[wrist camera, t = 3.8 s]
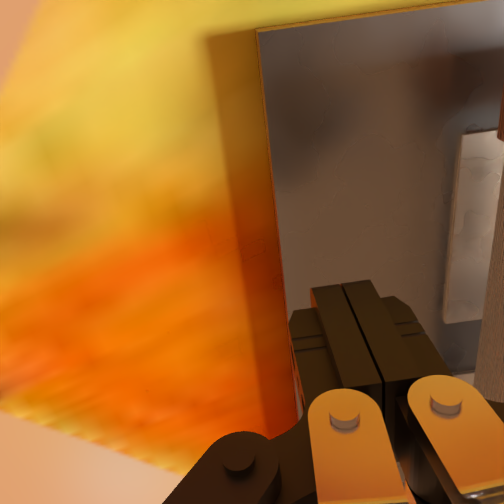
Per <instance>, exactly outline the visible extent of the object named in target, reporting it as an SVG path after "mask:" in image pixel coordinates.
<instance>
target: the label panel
mask: <svg viewBox="0 0 504 504" xmlns="http://www.w3.org/2000/svg"><path fill="white" fill-rule="evenodd" d="M255 35H256V44H257V54H258V63H259V72H260V81H261V91H262V100H263V109H264V118H265V128H266V137H267V146H268V155H269V165H270V174H271V183H272V192H273V202H274V211H275V220H276V229H277V239H278V248H279V257H280V266H281V276H282V285H283V294H284V303H285V313H286V322H287V331H288V340H289V350H290V359H291V368H292V377H293V387H294V396H295V405H296V414H297V423H298V421H299V420H300V419H301V417H302V410H301V405H300V399H299V395H298V391H297V386H296V381H295V376H294V371H293V363H292V354H291V346H290V337H289V328H288V323H289V321H290V318H291V316H292V313H293V311H294V310H299V309H306V308H311V300H310V288H313V287H320V286H327V285H334V284H339V285H340V284H341V283H347V282H354V281H361V280H368V279H369V280H371V282H372V283H373V285H374V287H375V289H376V291H377V293H378V294H379V296H380V298H382V297H389V296H395V297H397V298H398V299H399V300H401V301H402V302H404V303H405V304H407V305H408V306H410V308H411V309H412V311H413V313H414V314H415V316H416V317H417V319H418V322H419V323H420V324H421V325H422V327H423V329H424V330H425V333H426V335H428V337H429V338H430V340H431V341H432V343H433V344H434V346H435V348H436V349H437V351H438V352H439V354H440V356H441V357H442V359H443V360H444V362H445V364H446V365H447V367H448V368H449V370H450V372H451V373H452V375H453V376H454V377H455V378H458V379H461V380H463V381H465V382H467V383H469V384H470V385H472V386H473V383H474V375H475V368H476V361H477V353H478V346H479V339H480V331H481V324H482V317H483V309H484V302H485V295H486V287H487V280H488V273H489V265H490V258H491V251H492V243H493V236H494V229H495V221H496V214H497V207H498V199H499V192H500V185H501V177H502V170H503V163H504V142H503V141H501V140H499V139H498V138H497V132H498V124H499V117H500V109H501V101H502V93H503V85H504V0H458V1H451V2H444V3H437V4H429V5H422V6H415V7H408V8H401V9H393V10H386V11H379V12H372V13H365V14H357V15H350V16H343V17H336V18H328V19H321V20H314V21H307V22H300V23H292V24H285V25H278V26H271V27H263V28H256V29H255ZM396 464H397V467H398V470H399V474H400V477H401V480H402V484H403V487H404V479H405V475H404V473H403V470H402V468H401V465H400V463H399V462H396Z"/></svg>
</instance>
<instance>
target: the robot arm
mask: <svg viewBox="0 0 504 504" xmlns="http://www.w3.org/2000/svg"><path fill="white" fill-rule="evenodd" d="M310 300H311V308H306V309H299V310H294V311H293V313H292V316H291V318H290V321H289V323H288V328H289V337H290V346H291V354H292V363H293V371H294V376H295V381H296V386H297V391H298V395H299V399H300V405H301V410H302V417H301V419H300V420H299V421H298V423H297V424H296V425H295V426H294V427H293V428H291V429H290V430H289V431H287V432H285V433H284V434H282V435H280V436H277V437H275V438H273V439H271V440H268V439H267V438H266V437H264V436H262V435H260V434H257V433H254V432H247V431H241V432H235V433H230V434H228V435H225V436H223V437H222V438H220V439H218V440H217V441H216V442H214V443H213V444H212V445H211V446H210V447H209V448H208V450H207V451H206V452H205V453H204V454H203V456H202V457H201V458H200V459H199V460H198V462H197V463H196V464H195V465H194V466H193V468H192V469H191V470H190V471H189V472H188V473H187V475H186V476H185V477H184V478H183V479H182V481H181V482H180V483H179V484H178V485H177V487H176V488H175V489H174V490H173V491H172V493H171V494H170V495H169V496H168V497H167V499H166V500H165V501H164V502H163V503H162V504H504V403H501V402H495V401H491V400H487V399H484V397H483V396H482V395H481V394H480V393H479V391H478V390H477V389H476V388H474V387H473V386H472V385H470V384H469V383H467V382H465V381H463V380H461V379H458V378H455V377H454V376H453V375H452V373H451V372H450V370H449V368H448V367H447V365H446V364H445V362H444V360H443V359H442V357H441V356H440V354H439V352H438V351H437V349H436V348H435V346H434V344H433V343H432V341H431V340H430V338H429V337H428V335H426V333H425V330H424V329H423V327H422V325H421V324H420V323H419V322H418V319H417V317H416V316H415V314H414V313H413V311H412V309H411V308H410V306H408V305H407V304H405V303H404V302H402V301H401V300H399V299H398V298H397V297H395V296H389V297H382V298H380V296H379V294H378V293H377V291H376V289H375V287H374V285H373V283H372V282H371V280H369V279H368V280H361V281H354V282H347V283H341V284H340V285H339V284H334V285H327V286H320V287H313V288H310ZM396 462H399V463H400V465H401V468H402V470H403V473H404V475H405V479H404V487H403V484H402V480H401V477H400V474H399V470H398V467H397V464H396Z"/></svg>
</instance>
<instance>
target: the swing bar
mask: <svg viewBox="0 0 504 504" xmlns="http://www.w3.org/2000/svg"><path fill="white" fill-rule="evenodd" d="M497 138H498V139H499V140H501V141H503V142H504V85H503V93H502V101H501V109H500V117H499V124H498V132H497ZM473 387H474V388H476V389H477V390H478V391H479V393H480V394H481V395H482V396H483V397H484V399H487V400H491V401H495V402H501V403H504V163H503V170H502V177H501V185H500V192H499V199H498V207H497V214H496V221H495V229H494V236H493V243H492V251H491V258H490V265H489V273H488V280H487V287H486V295H485V302H484V309H483V317H482V324H481V331H480V339H479V346H478V353H477V361H476V368H475V375H474V383H473Z"/></svg>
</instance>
